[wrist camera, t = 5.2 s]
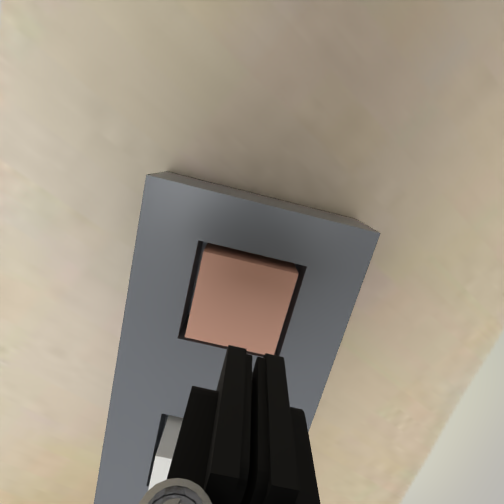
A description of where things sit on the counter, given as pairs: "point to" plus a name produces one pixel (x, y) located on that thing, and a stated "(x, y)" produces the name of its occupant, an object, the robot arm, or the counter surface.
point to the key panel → (180, 301)
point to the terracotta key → (241, 299)
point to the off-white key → (165, 450)
